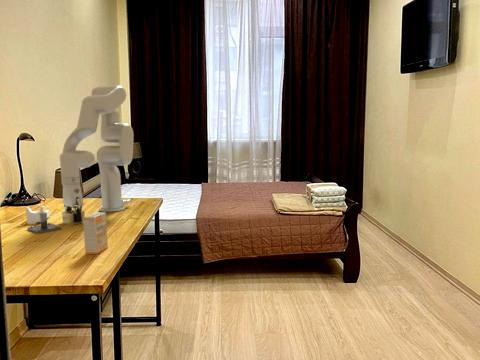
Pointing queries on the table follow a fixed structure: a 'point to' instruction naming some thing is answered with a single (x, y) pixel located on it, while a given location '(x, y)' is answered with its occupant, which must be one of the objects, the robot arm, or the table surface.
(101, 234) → the supplement box
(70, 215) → the collar
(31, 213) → the bracket
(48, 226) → the peg base plate
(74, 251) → the table surface
